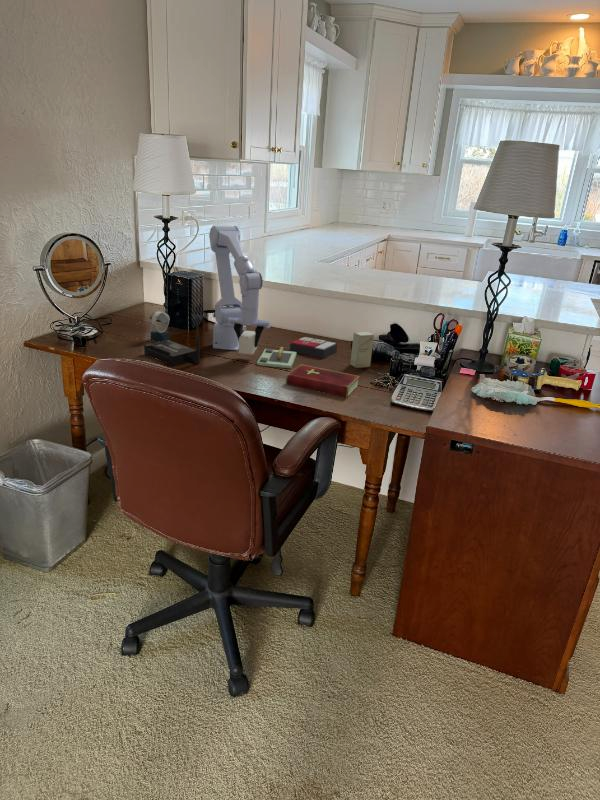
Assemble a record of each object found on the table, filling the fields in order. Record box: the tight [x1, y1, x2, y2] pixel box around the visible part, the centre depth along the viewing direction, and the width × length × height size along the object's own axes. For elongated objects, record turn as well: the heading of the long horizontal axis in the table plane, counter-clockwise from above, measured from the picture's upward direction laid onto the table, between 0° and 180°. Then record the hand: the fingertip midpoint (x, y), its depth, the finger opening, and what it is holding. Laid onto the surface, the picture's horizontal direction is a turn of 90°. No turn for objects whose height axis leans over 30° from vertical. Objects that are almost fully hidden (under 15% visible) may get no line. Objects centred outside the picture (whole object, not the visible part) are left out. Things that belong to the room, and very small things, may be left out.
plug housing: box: [238, 330, 259, 355], centre depth 197 cm, size 5×9×6 cm, turn 173°
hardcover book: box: [285, 363, 361, 398], centre depth 181 cm, size 12×21×4 cm, turn 67°
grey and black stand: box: [143, 316, 201, 367], centre depth 193 cm, size 20×14×17 cm
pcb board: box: [256, 346, 298, 370], centre depth 201 cm, size 12×16×4 cm
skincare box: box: [349, 331, 375, 369], centre depth 200 cm, size 6×4×12 cm
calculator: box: [289, 336, 338, 360], centre depth 214 cm, size 11×4×15 cm
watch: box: [150, 310, 171, 342], centre depth 212 cm, size 6×8×11 cm
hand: (248, 345), depth 197 cm, fingers closed on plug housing, 5 cm apart
